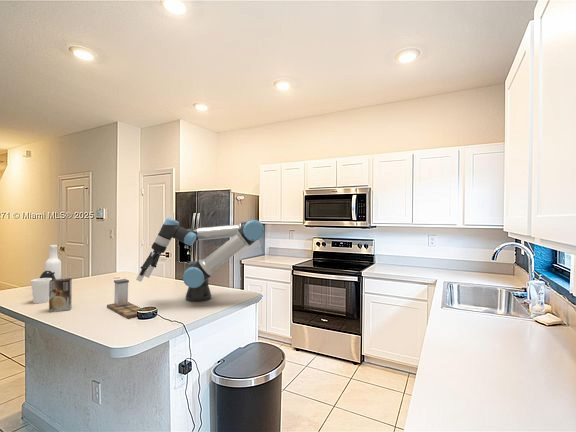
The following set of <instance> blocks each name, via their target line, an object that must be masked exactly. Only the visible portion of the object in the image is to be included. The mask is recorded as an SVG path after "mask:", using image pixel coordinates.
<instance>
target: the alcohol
mask: <svg viewBox="0 0 576 432" xmlns="http://www.w3.org/2000/svg"><path fill="white" fill-rule="evenodd" d="M44 271H51V272H52V273H53V272H55V274H54V276H55V278H56V279H62V261H61V260H60V259H59V256H58V245H57V244H50V245H49V254H48V258H47V259H46V261H45V263H44Z"/></svg>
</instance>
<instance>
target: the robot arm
mask: <svg viewBox="0 0 576 432" xmlns="http://www.w3.org/2000/svg"><path fill="white" fill-rule="evenodd" d="M264 234H265V227H264V225H263V223H262V222H261V221H260V220H258V219H252V220H251V219H250V220H248V221H245V222H243V221H242V222H239V224H229V225H217V226H206V227H195V228H187V229H186V228H185V227H182V226H180V222H179V221H177V220H176V219H174V218H171V217H167V218H166V219H165V220H164V222H163V224H162V226H161V227H160V230H159V232H158V234H157V235H155V240H154V242H153V243H152V245H151V249H152V251H151V252H150V253H149V254H148V257H147V258H146V260H145V261H144V263H143V264H142V265H141V266H140V269H141V270H140V271H139V273H138V276H137V277H136V281H138V282H140V283H142V281H143V279H144V277H146V278H147V279H148V278H149V279H150V277H151V274H153V270H154V269H155V268H157V266H158V262H159V259H160V258H161V254H164V253H165V252H166V250H167V247H168V246H169V244H170V243H171V240H172V238H173V239H175V240H177V241H179V242H180V243H183V244H184V245H188V246H192V245H193V244H194V243H195V241H204V240H205V241H206V240H215V239H217V240H218V239H228V238H230V239H228V240H227V241H226V242H224V243H223V244H222V245H221V246H219V247H218V248H217V249H216V250H214V251H212V252H211V254H209V255H208V256H207V257H205V258H204V259H198V260H196V261H195V260H192V261H190V262H189V263H188V268H186V269H184V272H183V274H182V275H183V276H182V280H183V283H184V285H186V287H188V288H187V290H186V293H185V300H186V301H187V302H195V303H196V302H205V301H209V300H211V299H212V293H211V289H210V287H209V281H210V280H209V278H211V277H212V276H213V272H214V271H216V270H217V269H218V268H219V267H221V266H222V265H223V264H224V263H225V262H227V261H228V260H230V259H231V258H232V257H233V256H235V255H236V254H237V253H239V252H240V251H241V250H243V248H244V247H246V246H247V247H250V246H251V245H253V244H254V243H255V242H257V241H259V240H260V239H262V237H263V236H264Z"/></svg>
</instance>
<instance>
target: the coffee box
mask: <svg viewBox="0 0 576 432" xmlns="http://www.w3.org/2000/svg"><path fill="white" fill-rule="evenodd" d="M72 279H73V278H69V277H67V278H61V279H52V280H50V282H49V299H48V313H55V312H56V313H57V312H63V311H70V310H71V309H72V298H73V297H72V294H73V293H72V292H73V291H72V287H73V286H72V285H73V284H72V283H73V281H72Z"/></svg>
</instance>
